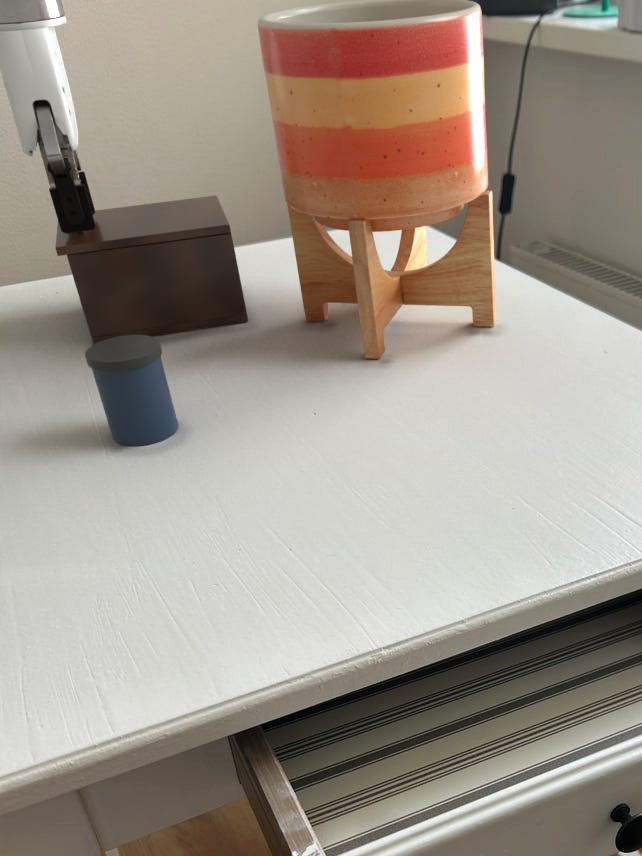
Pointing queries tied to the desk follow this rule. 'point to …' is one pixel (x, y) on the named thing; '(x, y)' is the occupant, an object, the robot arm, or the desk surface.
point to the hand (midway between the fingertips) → (78, 221)
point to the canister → (133, 389)
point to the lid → (147, 225)
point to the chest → (159, 287)
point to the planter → (383, 152)
